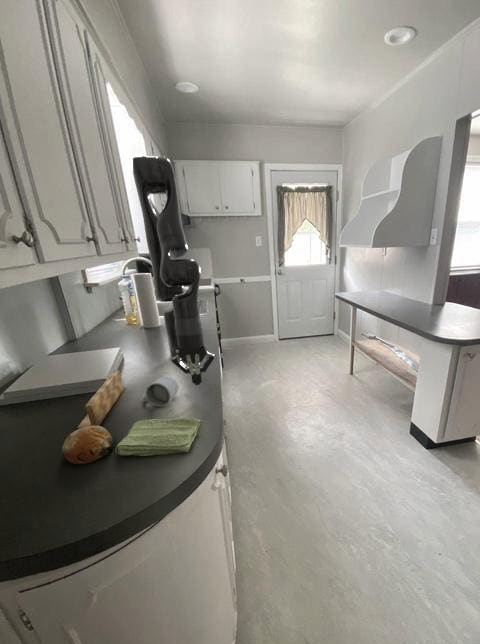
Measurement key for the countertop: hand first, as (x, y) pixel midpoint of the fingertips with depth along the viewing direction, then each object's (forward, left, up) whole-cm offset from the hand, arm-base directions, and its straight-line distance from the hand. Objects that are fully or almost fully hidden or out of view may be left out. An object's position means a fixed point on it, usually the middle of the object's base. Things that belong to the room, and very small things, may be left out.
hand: (197, 383), depth 96 cm
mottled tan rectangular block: (0, -28, -5) cm, 29 cm away
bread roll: (+23, -24, -5) cm, 33 cm away
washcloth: (+22, -8, -5) cm, 24 cm away
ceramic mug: (0, -12, -5) cm, 13 cm away
